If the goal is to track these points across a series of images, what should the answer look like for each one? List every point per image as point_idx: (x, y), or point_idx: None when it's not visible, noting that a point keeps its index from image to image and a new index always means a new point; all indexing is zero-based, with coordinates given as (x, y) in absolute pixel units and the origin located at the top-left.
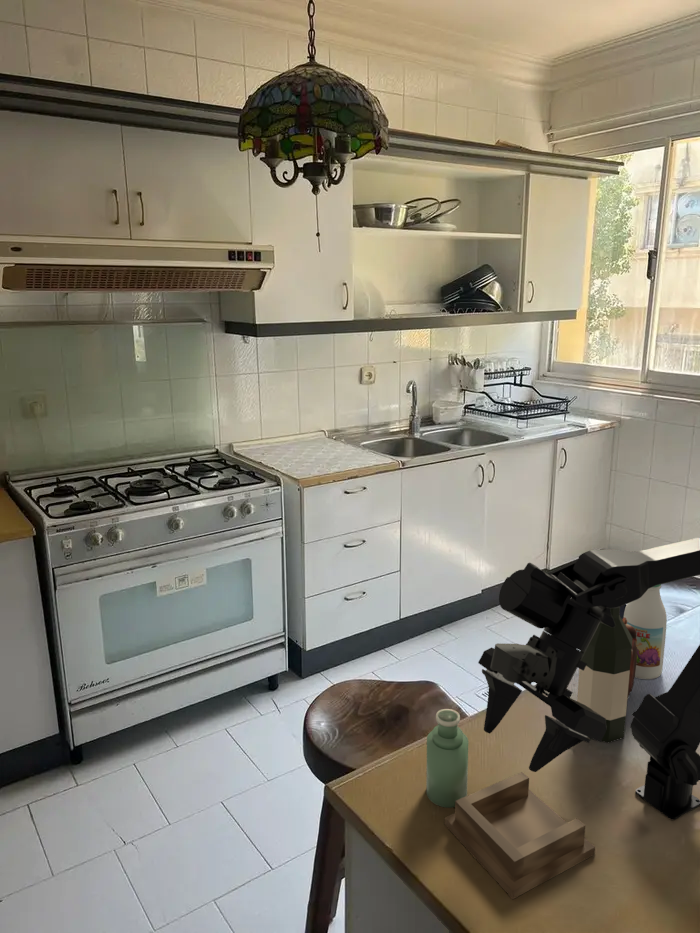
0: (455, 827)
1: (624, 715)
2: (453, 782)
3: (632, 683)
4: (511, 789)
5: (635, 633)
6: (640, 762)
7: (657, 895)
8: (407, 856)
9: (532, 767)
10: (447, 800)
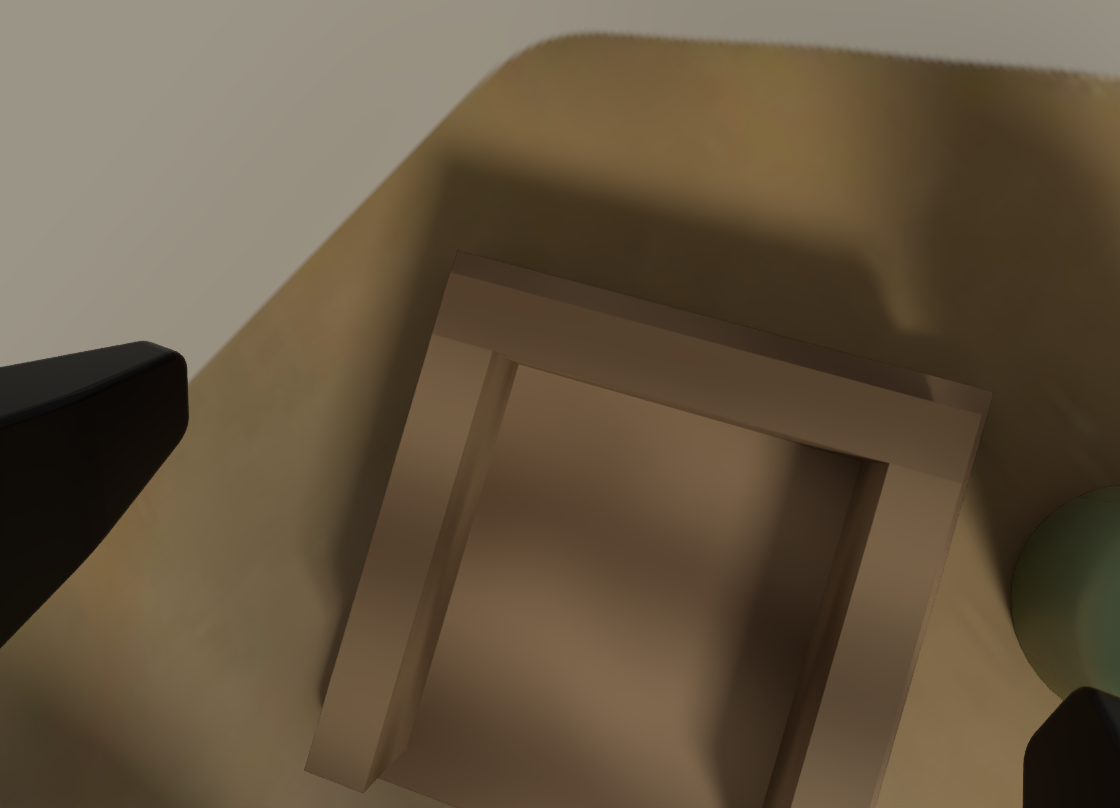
0: (897, 372)
1: None
2: (1112, 554)
3: None
4: (791, 780)
5: None
6: None
7: (63, 700)
8: (973, 97)
9: (110, 350)
10: (1075, 514)
